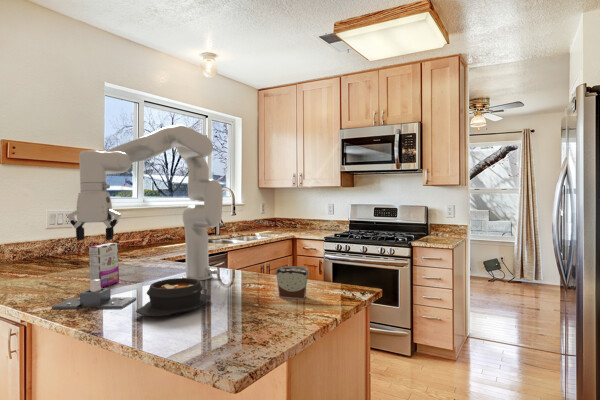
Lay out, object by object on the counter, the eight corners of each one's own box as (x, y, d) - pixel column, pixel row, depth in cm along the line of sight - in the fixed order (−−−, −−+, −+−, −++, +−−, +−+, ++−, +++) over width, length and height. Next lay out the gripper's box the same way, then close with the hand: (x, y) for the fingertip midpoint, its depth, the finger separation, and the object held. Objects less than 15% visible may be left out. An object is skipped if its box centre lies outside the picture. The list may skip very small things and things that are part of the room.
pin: (102, 302, 128) (102, 279, 127) (97, 305, 125) (97, 281, 124) (93, 302, 128) (93, 279, 127) (88, 305, 125) (88, 281, 124)
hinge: (136, 299, 131) (135, 286, 131) (121, 308, 121) (121, 294, 121) (71, 300, 131) (71, 287, 131) (52, 308, 121) (51, 294, 121)
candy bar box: (108, 281, 158) (108, 242, 158) (119, 282, 157) (118, 242, 157) (88, 288, 147) (88, 246, 147) (100, 289, 146) (99, 246, 146)
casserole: (168, 326, 104) (167, 296, 104) (121, 317, 112) (120, 289, 112) (224, 302, 127) (223, 277, 126) (181, 296, 135) (181, 272, 135)
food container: (313, 294, 135) (313, 266, 134) (308, 299, 129) (308, 270, 129) (281, 292, 139) (281, 265, 138) (275, 296, 133) (274, 268, 133)
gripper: (124, 187, 129) (126, 237, 129) (74, 188, 129) (76, 238, 130) (113, 187, 121) (115, 240, 122) (60, 188, 122) (62, 241, 122)
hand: (95, 239), depth 126 cm, fingers open, 9 cm apart
